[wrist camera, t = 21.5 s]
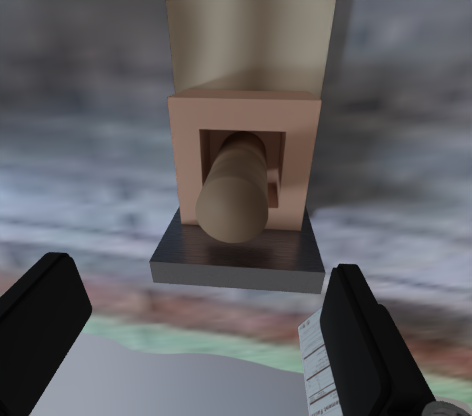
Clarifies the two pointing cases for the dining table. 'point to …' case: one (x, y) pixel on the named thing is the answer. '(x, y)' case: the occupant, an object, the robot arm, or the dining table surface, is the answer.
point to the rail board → (250, 44)
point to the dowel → (235, 191)
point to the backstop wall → (240, 259)
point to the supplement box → (317, 370)
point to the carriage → (251, 120)
